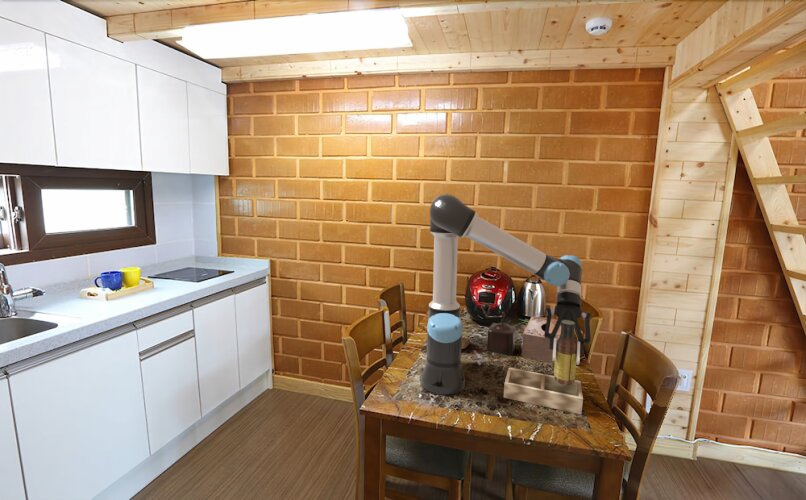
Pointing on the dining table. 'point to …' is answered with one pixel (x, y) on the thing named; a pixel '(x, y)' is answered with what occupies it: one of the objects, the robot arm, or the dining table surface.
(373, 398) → the dining table surface
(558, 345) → the sauce bottle
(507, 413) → the dining table surface
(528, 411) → the dining table surface
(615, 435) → the dining table surface
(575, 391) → the birch caddy
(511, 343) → the manual coffee grinder
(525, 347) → the tissue box cover
